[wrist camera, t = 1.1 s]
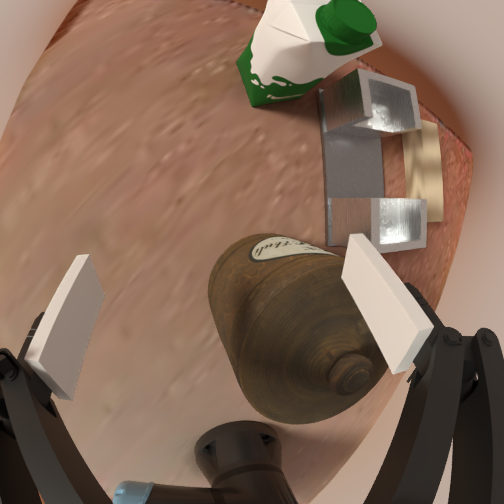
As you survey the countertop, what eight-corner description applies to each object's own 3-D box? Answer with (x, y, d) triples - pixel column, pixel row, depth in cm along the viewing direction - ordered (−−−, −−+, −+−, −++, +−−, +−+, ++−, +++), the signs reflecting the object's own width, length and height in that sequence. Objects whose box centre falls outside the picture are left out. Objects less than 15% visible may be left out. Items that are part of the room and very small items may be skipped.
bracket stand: (380, 240, 40) (427, 250, 31) (325, 245, 38) (368, 259, 29) (372, 100, 36) (415, 83, 27) (316, 90, 34) (354, 64, 25)
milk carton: (247, 115, 33) (317, 35, 14) (227, 57, 31) (272, -46, 11) (307, 103, 34) (405, 42, 15) (286, 49, 32) (361, -33, 13)
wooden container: (333, 264, 39) (456, 319, 18) (280, 352, 40) (358, 459, 19) (243, 210, 35) (337, 225, 14) (187, 313, 35) (203, 442, 14)
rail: (422, 218, 43) (443, 221, 38) (405, 219, 42) (426, 222, 37) (416, 128, 40) (436, 124, 35) (399, 124, 38) (419, 119, 34)
